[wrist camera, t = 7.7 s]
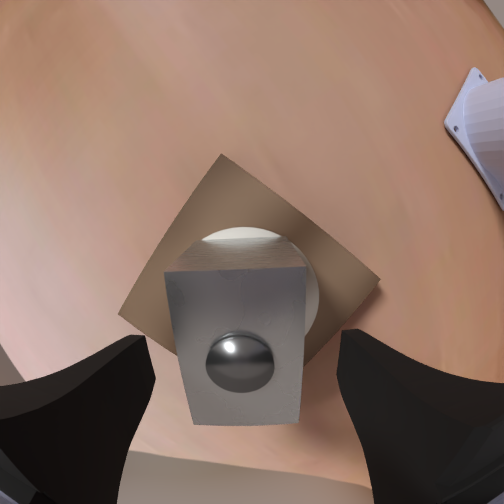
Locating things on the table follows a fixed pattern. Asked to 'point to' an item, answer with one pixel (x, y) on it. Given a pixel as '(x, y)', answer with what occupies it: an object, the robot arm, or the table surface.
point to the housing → (239, 329)
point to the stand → (251, 226)
